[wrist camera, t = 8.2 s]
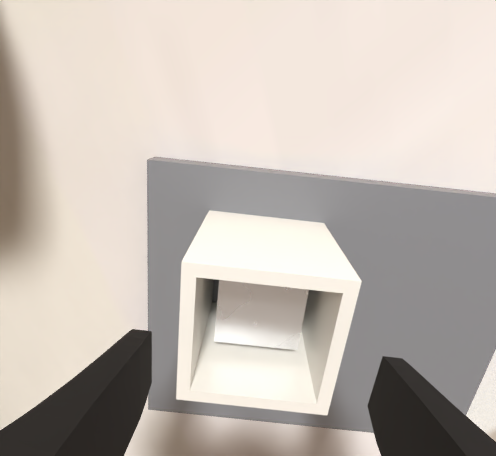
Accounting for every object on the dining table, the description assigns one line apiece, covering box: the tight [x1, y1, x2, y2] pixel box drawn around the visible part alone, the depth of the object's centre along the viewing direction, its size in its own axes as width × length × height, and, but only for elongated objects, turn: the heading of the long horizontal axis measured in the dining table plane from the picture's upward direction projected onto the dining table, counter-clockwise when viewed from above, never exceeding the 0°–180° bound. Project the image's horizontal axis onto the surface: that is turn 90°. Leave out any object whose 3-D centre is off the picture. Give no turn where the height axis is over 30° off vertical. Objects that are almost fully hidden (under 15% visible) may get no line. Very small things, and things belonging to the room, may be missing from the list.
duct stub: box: [214, 280, 309, 350], centre depth 15 cm, size 4×4×5 cm
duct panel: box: [147, 157, 496, 433], centre depth 18 cm, size 20×16×1 cm
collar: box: [176, 210, 362, 415], centre depth 14 cm, size 6×6×6 cm
